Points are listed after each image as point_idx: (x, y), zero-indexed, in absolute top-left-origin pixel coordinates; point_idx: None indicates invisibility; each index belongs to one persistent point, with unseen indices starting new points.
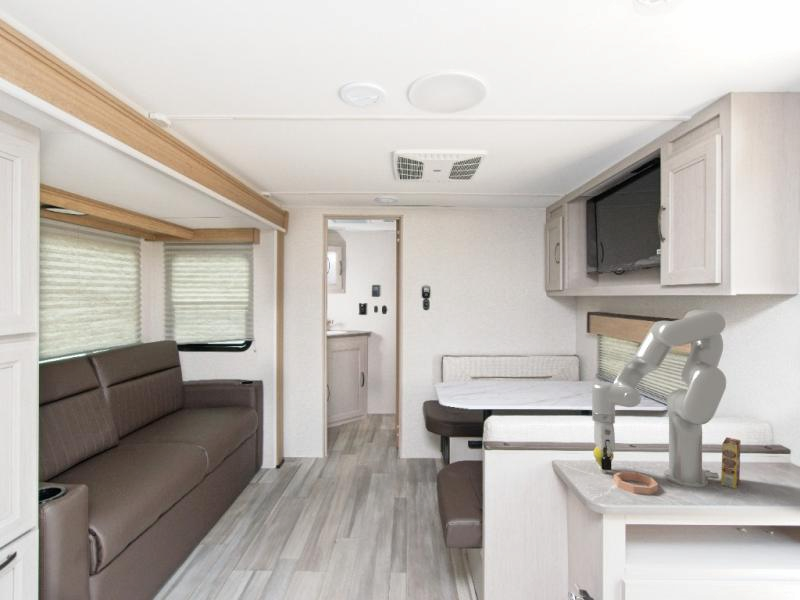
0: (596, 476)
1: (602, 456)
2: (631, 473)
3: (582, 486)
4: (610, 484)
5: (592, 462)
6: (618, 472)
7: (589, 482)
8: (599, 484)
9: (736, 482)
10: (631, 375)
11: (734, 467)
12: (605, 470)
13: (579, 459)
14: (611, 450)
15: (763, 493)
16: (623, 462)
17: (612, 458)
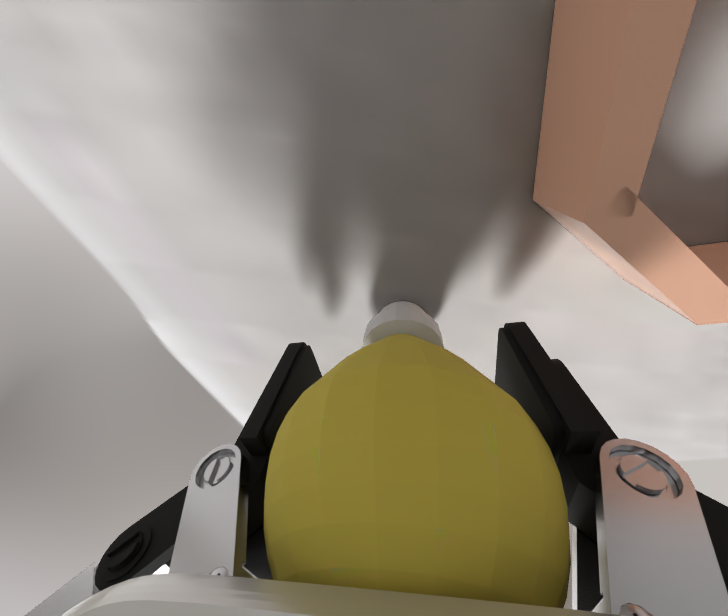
0: (491, 369)
1: (585, 540)
2: (673, 51)
3: (666, 447)
4: (650, 305)
5: (240, 360)
6: (637, 265)
7: (603, 413)
8: (642, 371)
9: None
10: None
11: None
12: (440, 333)
13: (240, 411)
14: (450, 536)
15: None
16: (31, 114)
17: (493, 389)
